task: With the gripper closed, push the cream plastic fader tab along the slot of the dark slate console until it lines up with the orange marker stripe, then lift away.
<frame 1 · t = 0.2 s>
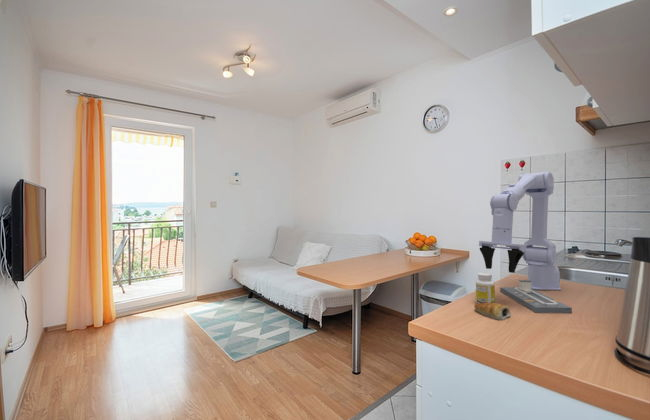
hand: (499, 270, 99), 11 cm above the worktop, tool pointing down, fingers open, 7 cm apart
console: (532, 301, 100), on the worktop
supplement bottle: (485, 304, 99), on the worktop
fader tab: (525, 286, 104), point 4 cm above the worktop, slide at 0.0 cm
pastry: (492, 316, 89), on the worktop
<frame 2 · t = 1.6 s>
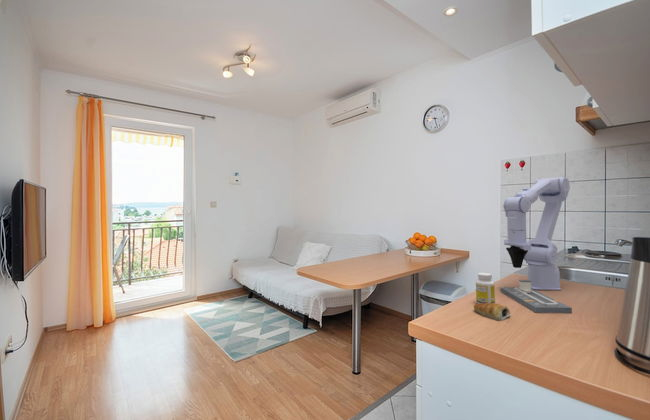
hand: (517, 267, 109), 9 cm above the worktop, tool pointing down, fingers closed
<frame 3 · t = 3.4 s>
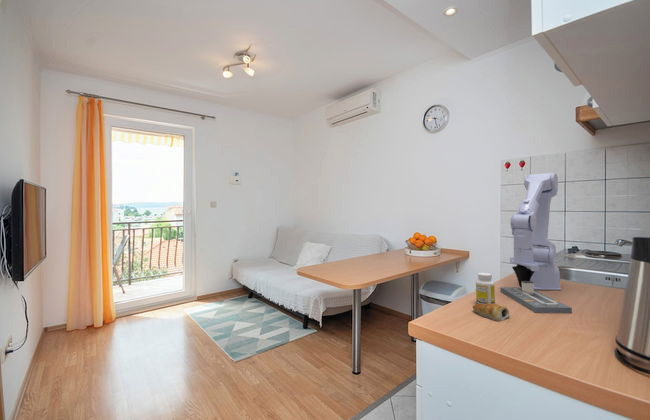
hand: (523, 287, 105), 3 cm above the worktop, tool pointing down, fingers closed
fader tab: (527, 287, 102), point 4 cm above the worktop, slide at 1.5 cm, touching gripper
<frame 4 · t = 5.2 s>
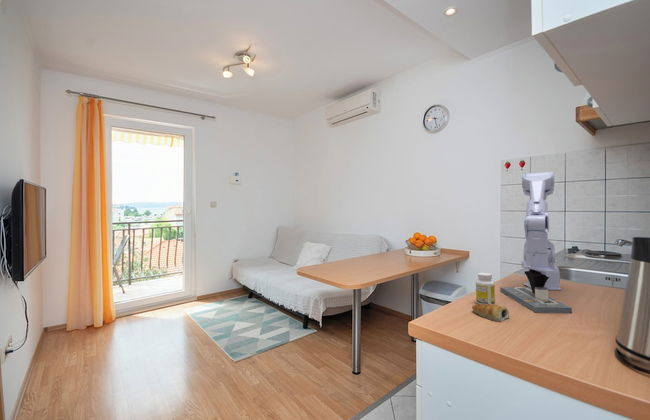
hand: (537, 294, 97), 3 cm above the worktop, tool pointing down, fingers closed
fader tab: (541, 294, 95), point 4 cm above the worktop, slide at 9.3 cm, touching gripper
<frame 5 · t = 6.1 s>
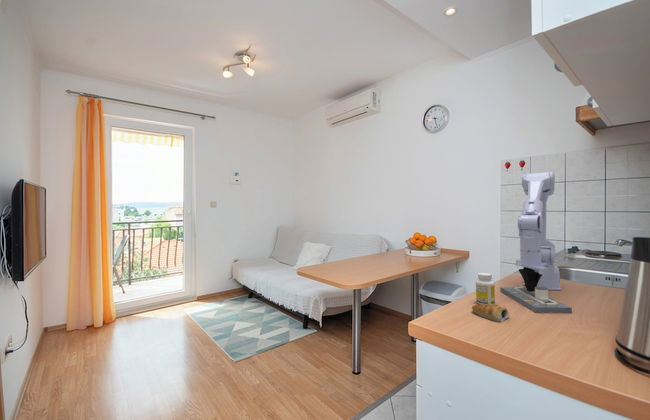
hand: (530, 291, 101), 3 cm above the worktop, tool pointing down, fingers closed
fader tab: (541, 294, 95), point 4 cm above the worktop, slide at 9.3 cm
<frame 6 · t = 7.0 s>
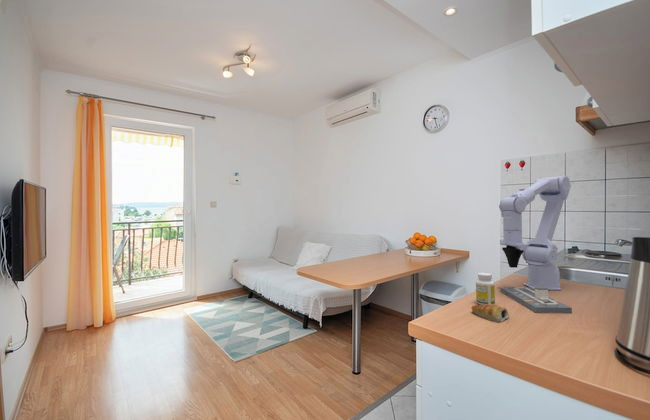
hand: (513, 267, 109), 9 cm above the worktop, tool pointing down, fingers closed
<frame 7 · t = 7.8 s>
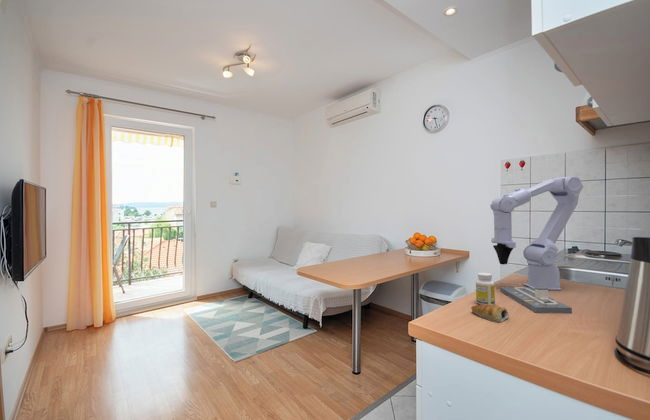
hand: (503, 264, 115), 9 cm above the worktop, tool pointing down, fingers closed
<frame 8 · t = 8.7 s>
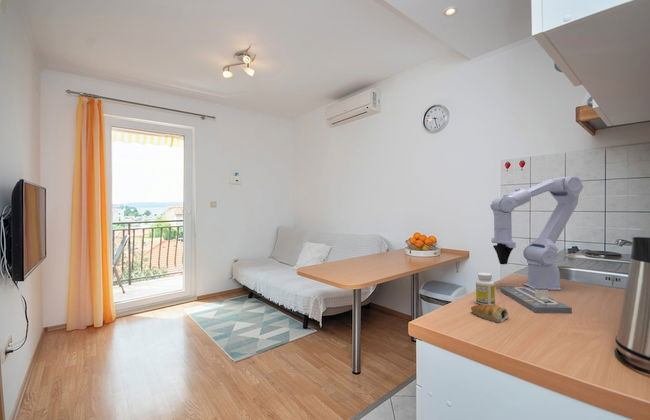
hand: (503, 264, 115), 9 cm above the worktop, tool pointing down, fingers closed
at the end: fader tab slide at 9.3 cm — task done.
